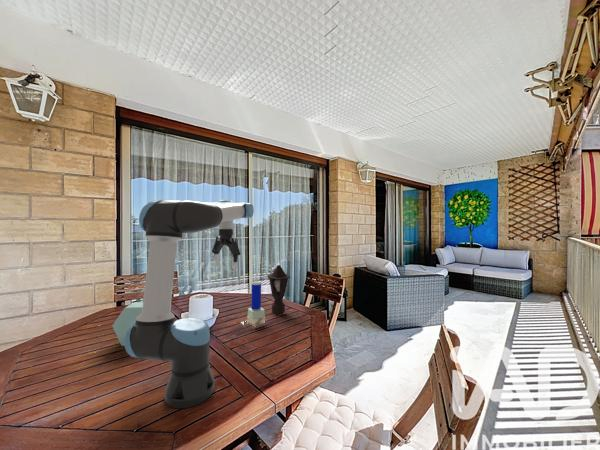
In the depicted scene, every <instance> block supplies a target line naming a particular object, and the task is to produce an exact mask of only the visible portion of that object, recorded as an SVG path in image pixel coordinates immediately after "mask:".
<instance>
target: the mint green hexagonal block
mask: <svg viewBox="0 0 600 450" xmlns="http://www.w3.org/2000/svg"><path fill="white" fill-rule="evenodd" d="M142 307H143V301H140V302H139V301H134V302H131V304H129V305H127V306H125V307H124V308H123V309H122V311H121V312H120V314H119V315H118V316H117V318H116V319H115V320H114V322H113V324H112V329H113V332H114V333H115V335H116V337H117V340H118V341H119V343H120V346H121V347H125V336H126V333H127V331H129V327H130V326H131V325H132V324H133V323H134V322H136V318H137V317H138V316H139V315H140V314H141V313H142Z"/></svg>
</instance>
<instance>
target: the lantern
mask: <svg viewBox="0 0 600 450" xmlns="http://www.w3.org/2000/svg"><path fill="white" fill-rule="evenodd" d="M266 277H267V278H268V281H269V286H270V291H271V296H272V297H273V299H274V300H273V303H272V304H271V314H272V313H273V314H283V313H284V312H286V304H285V303H284V301H283V299H284V297H285V296H286V290H287V286H288V285H287V284H288V279H290V278H291V275H290V274H287V273H286V272H285V271H284V269H283V267H282V266H281V265H280V264H277V266H276V267H275V269H273V271H272V273H271V274H267V275H266ZM273 314H272V315H273Z"/></svg>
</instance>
